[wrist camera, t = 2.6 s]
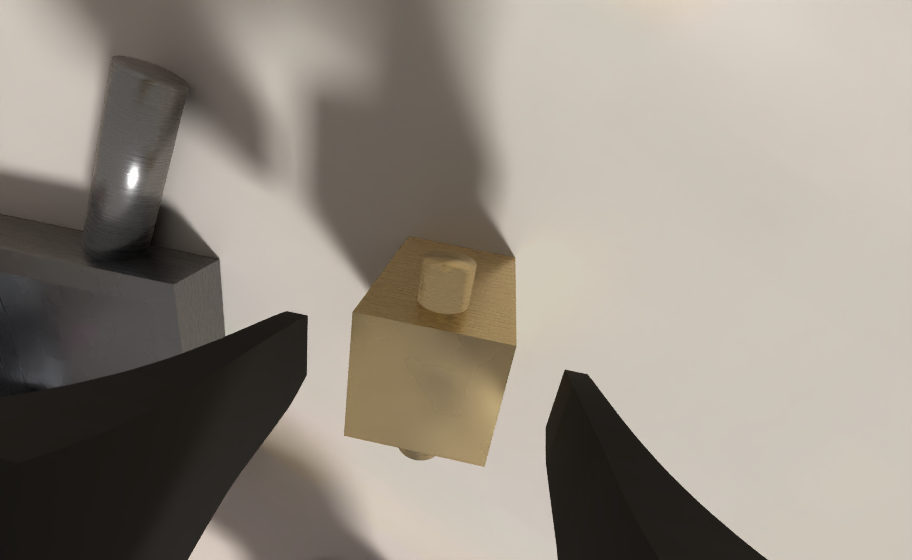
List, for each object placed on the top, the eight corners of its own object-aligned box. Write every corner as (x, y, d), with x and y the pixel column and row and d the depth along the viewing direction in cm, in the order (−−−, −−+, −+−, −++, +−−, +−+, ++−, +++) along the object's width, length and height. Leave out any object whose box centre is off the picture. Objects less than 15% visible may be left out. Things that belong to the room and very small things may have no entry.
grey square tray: (233, 457, 22) (200, 500, 19) (32, 411, 22) (-23, 448, 20) (219, 259, 17) (173, 284, 15) (-35, 207, 18) (-116, 223, 15)
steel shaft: (160, 254, 17) (118, 273, 15) (113, 229, 17) (65, 245, 15) (202, 90, 14) (157, 89, 13) (147, 58, 14) (93, 52, 12)
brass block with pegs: (487, 372, 18) (476, 496, 12) (394, 352, 18) (341, 466, 12) (522, 226, 15) (528, 301, 10) (412, 204, 15) (355, 266, 10)
